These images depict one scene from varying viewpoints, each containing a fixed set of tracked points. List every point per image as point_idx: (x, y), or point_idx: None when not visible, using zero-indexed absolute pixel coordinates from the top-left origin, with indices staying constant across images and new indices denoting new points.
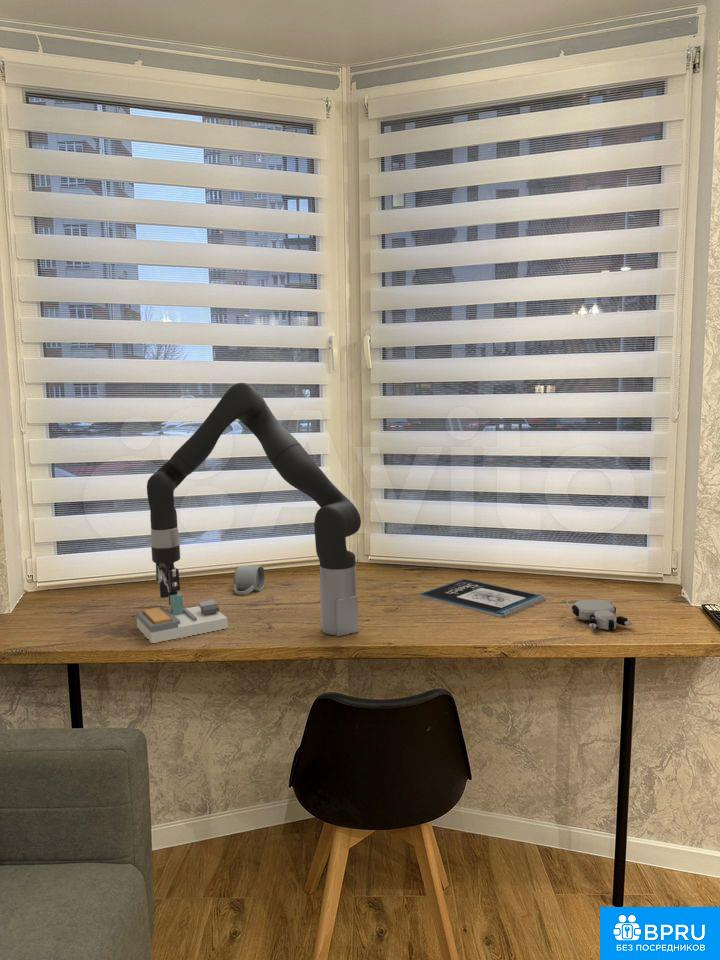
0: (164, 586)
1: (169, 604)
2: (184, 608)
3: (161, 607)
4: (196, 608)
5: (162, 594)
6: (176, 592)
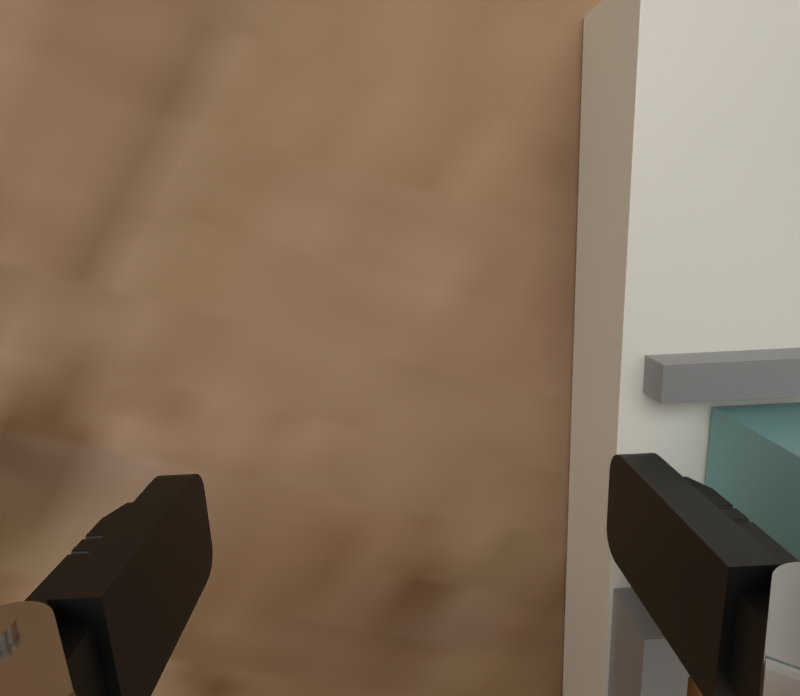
0: (129, 636)
1: (618, 552)
2: (750, 375)
3: (652, 649)
4: (713, 197)
5: (194, 578)
6: (764, 563)
